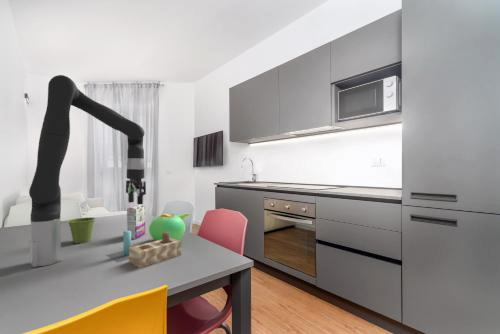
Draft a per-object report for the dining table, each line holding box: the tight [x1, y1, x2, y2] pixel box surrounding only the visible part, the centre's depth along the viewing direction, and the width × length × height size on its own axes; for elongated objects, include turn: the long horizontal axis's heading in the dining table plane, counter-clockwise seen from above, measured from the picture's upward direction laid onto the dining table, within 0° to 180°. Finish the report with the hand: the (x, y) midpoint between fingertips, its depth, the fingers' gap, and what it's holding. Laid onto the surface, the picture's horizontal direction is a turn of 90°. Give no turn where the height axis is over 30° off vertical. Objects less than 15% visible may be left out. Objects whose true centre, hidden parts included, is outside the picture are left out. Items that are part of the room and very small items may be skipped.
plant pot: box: [67, 217, 96, 244], centre depth 126 cm, size 12×12×11 cm
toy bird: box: [148, 212, 191, 241], centre depth 125 cm, size 18×17×15 cm
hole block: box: [128, 238, 182, 269], centre depth 102 cm, size 18×9×6 cm, turn 140°
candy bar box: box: [126, 204, 146, 240], centre depth 134 cm, size 11×5×16 cm, turn 179°
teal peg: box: [122, 230, 132, 256], centre depth 105 cm, size 3×3×10 cm
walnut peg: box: [162, 231, 170, 244], centre depth 105 cm, size 3×3×10 cm
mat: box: [105, 250, 129, 263], centre depth 106 cm, size 12×12×1 cm
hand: (135, 203), depth 114 cm, fingers open, 8 cm apart
